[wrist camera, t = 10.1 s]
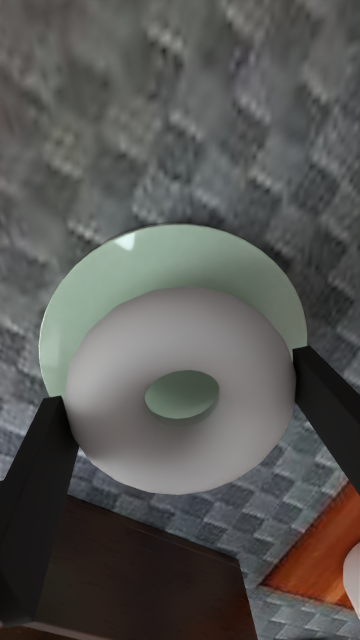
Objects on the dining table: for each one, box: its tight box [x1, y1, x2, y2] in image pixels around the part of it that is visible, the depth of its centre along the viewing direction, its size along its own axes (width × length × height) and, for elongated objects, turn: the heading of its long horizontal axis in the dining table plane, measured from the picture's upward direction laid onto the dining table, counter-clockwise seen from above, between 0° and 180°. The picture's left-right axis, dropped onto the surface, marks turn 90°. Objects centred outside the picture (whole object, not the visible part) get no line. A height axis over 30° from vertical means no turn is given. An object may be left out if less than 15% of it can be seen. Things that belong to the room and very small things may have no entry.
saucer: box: [39, 223, 307, 419], centre depth 17 cm, size 14×14×1 cm
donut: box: [64, 286, 297, 495], centre depth 14 cm, size 10×3×10 cm
